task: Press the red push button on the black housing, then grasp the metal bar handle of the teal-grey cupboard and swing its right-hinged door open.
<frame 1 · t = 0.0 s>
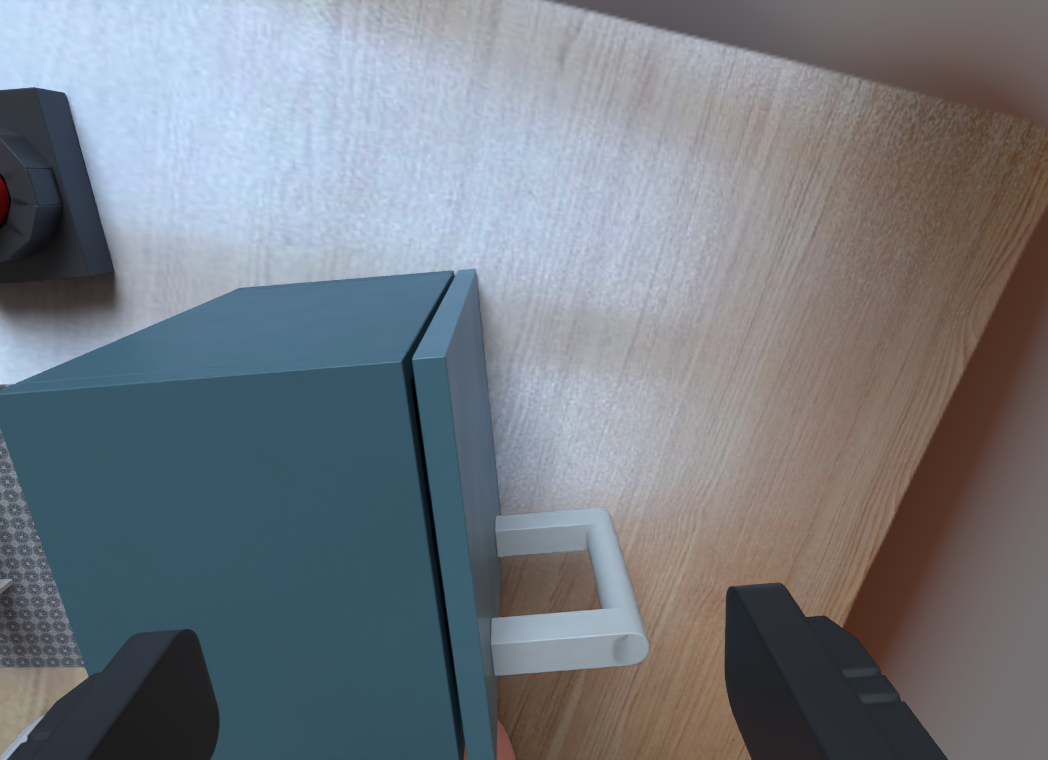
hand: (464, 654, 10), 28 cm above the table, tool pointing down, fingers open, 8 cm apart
button box: (24, 190, 34), on the table
teapot: (399, 759, 47), on the table
cupboard door: (541, 465, 29), point 9 cm above the table, hinge at 0.0°
cupboard: (368, 413, 38), on the table
water bottle: (95, 742, 45), on the table
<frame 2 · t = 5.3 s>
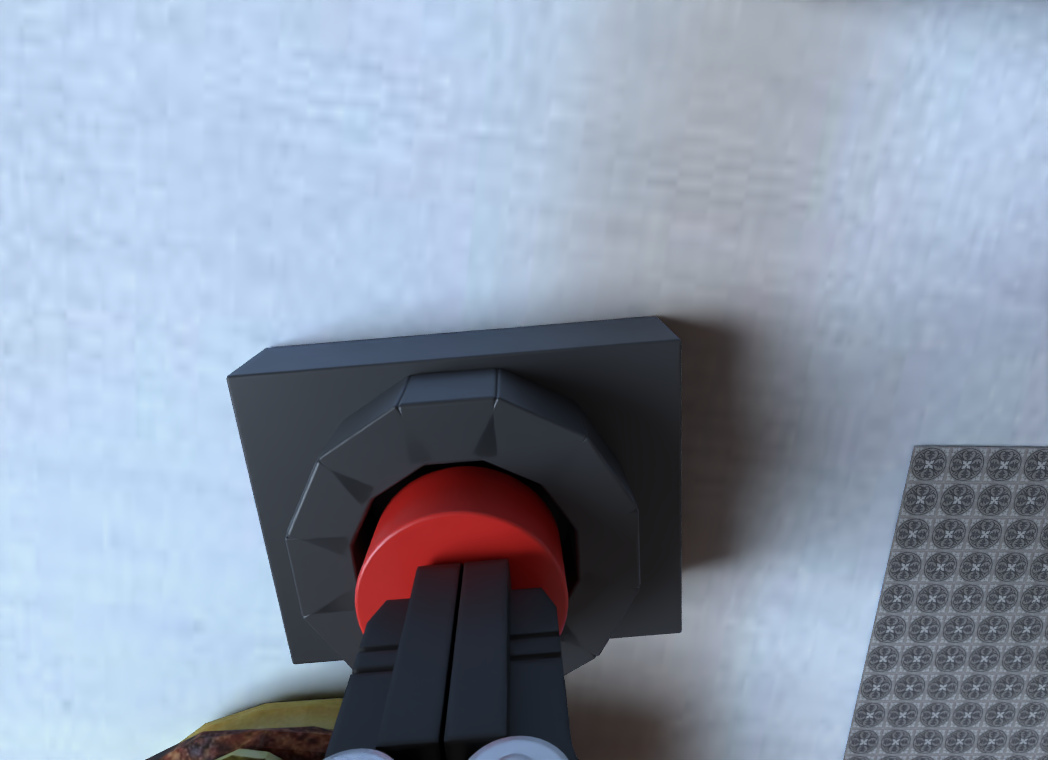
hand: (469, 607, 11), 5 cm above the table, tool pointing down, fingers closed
button box: (476, 469, 16), on the table
red push button: (465, 576, 12), point 4 cm above the table, slide at 0.0 cm, touching gripper
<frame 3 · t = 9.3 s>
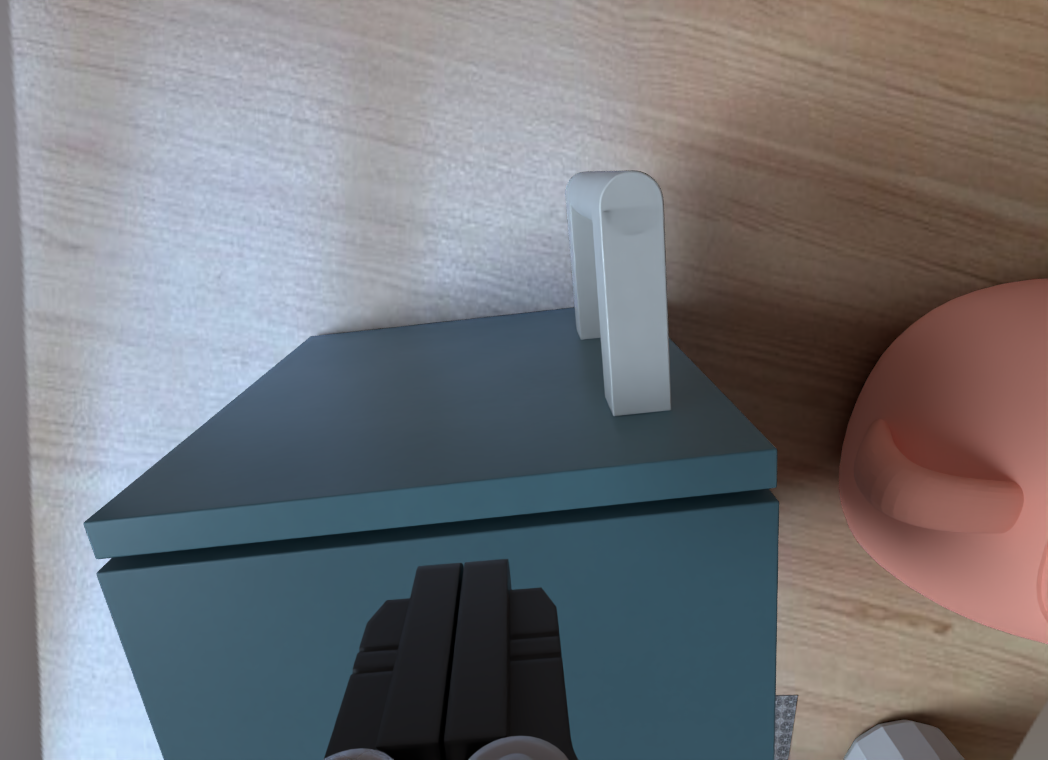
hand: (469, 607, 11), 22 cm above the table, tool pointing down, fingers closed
teapot: (994, 430, 34), on the table
cupboard door: (447, 299, 22), point 9 cm above the table, hinge at 0.0°
cupboard: (489, 451, 34), on the table
water bottle: (893, 741, 41), on the table
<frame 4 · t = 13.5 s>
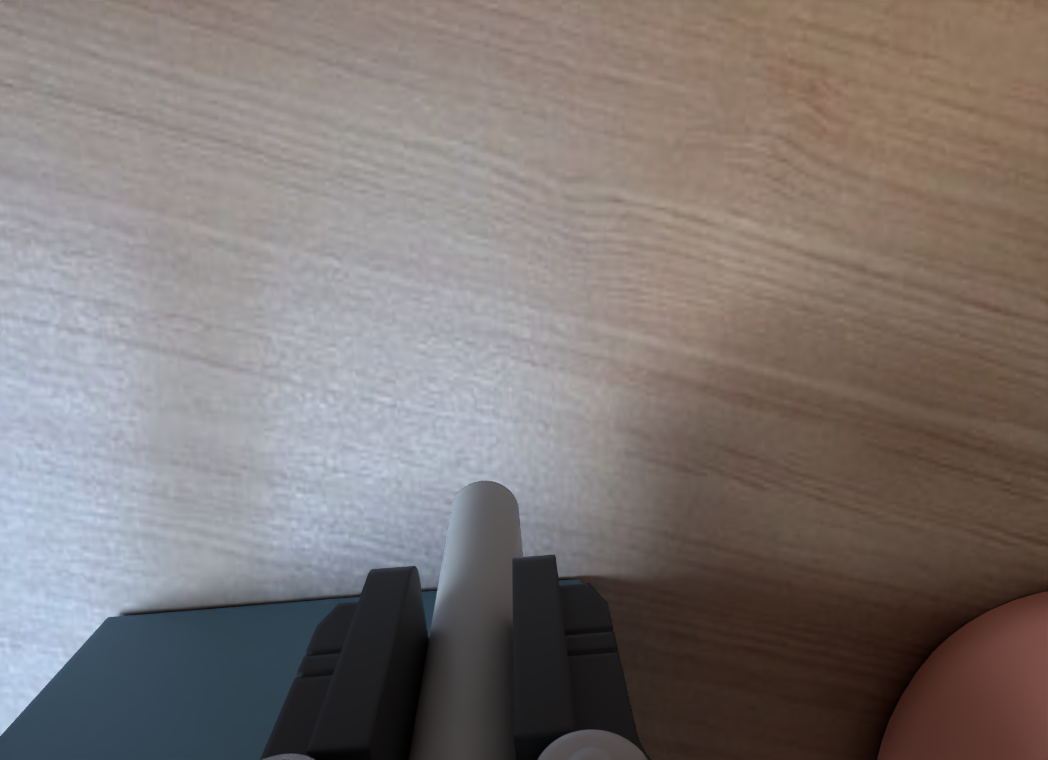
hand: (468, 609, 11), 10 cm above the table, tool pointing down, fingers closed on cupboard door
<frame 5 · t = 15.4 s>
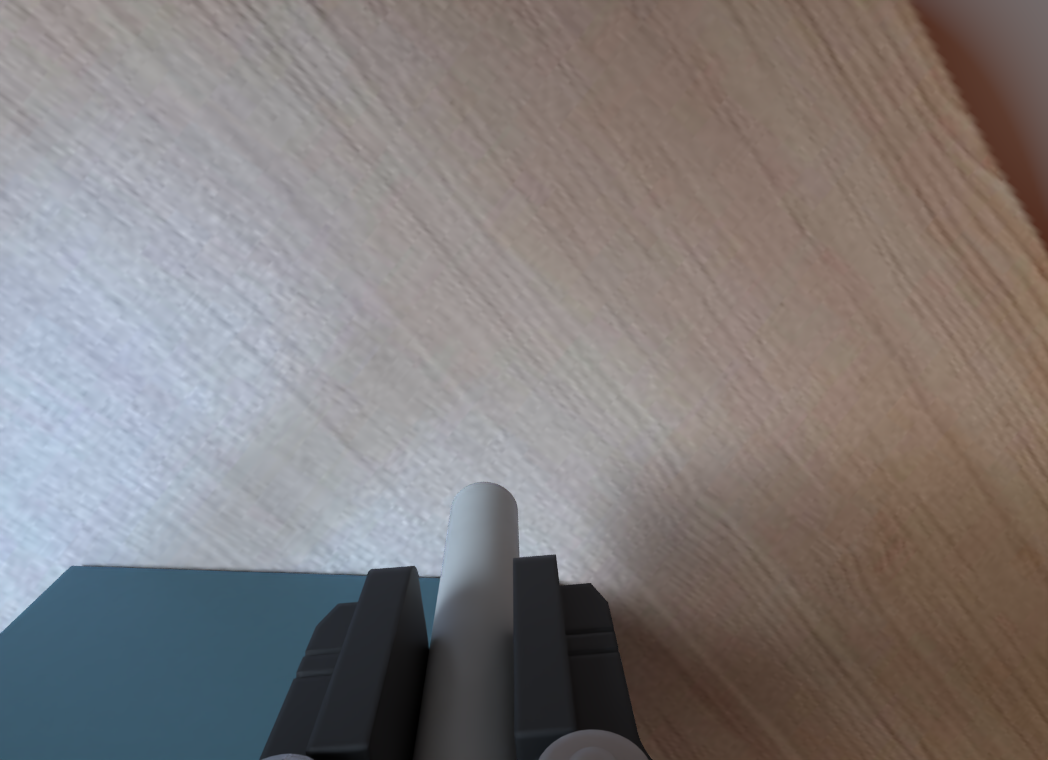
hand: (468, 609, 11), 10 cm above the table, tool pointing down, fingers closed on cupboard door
cupboard door: (182, 743, 12), point 9 cm above the table, hinge at 28.2°, touching gripper
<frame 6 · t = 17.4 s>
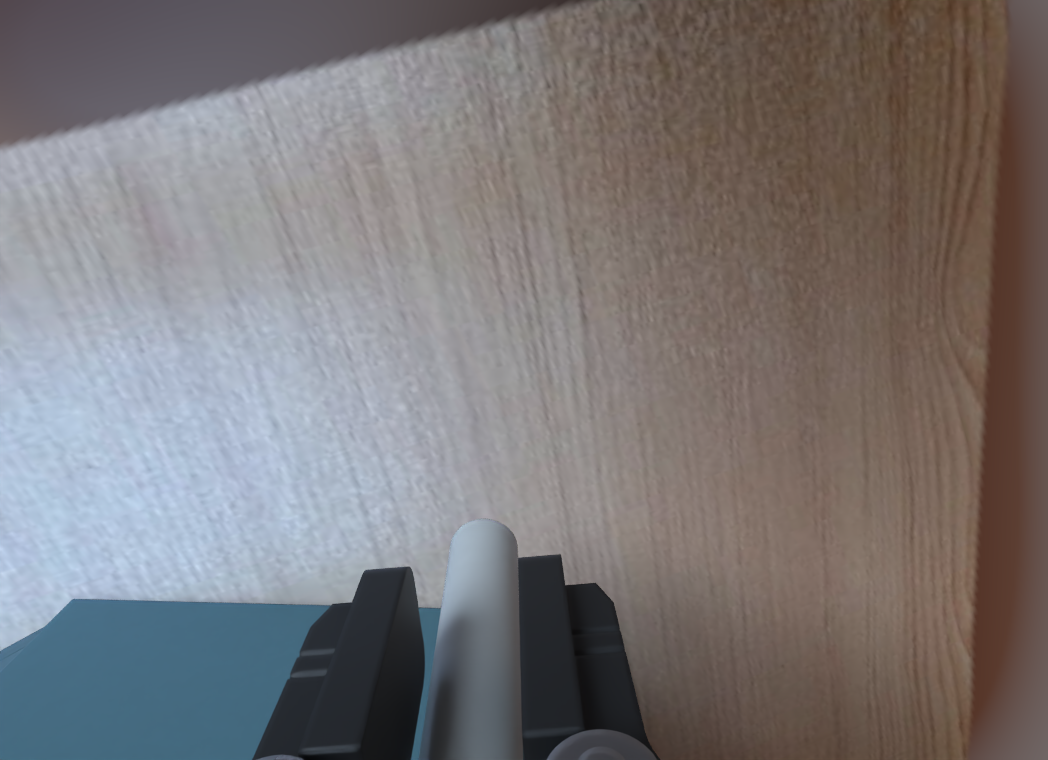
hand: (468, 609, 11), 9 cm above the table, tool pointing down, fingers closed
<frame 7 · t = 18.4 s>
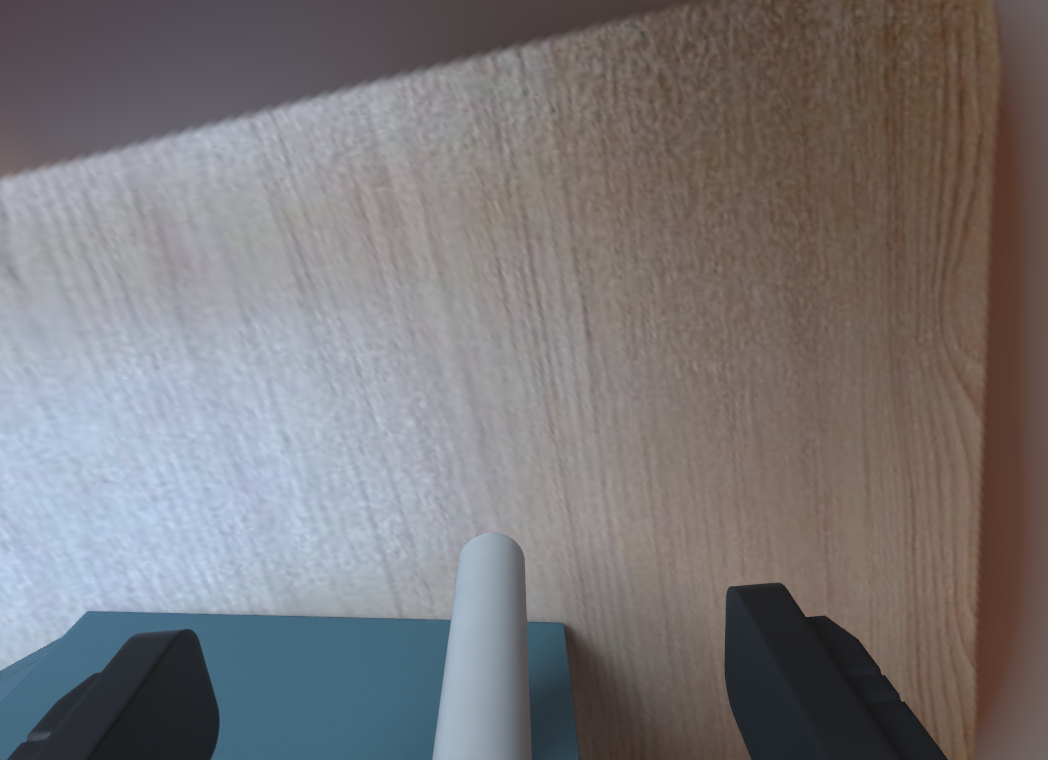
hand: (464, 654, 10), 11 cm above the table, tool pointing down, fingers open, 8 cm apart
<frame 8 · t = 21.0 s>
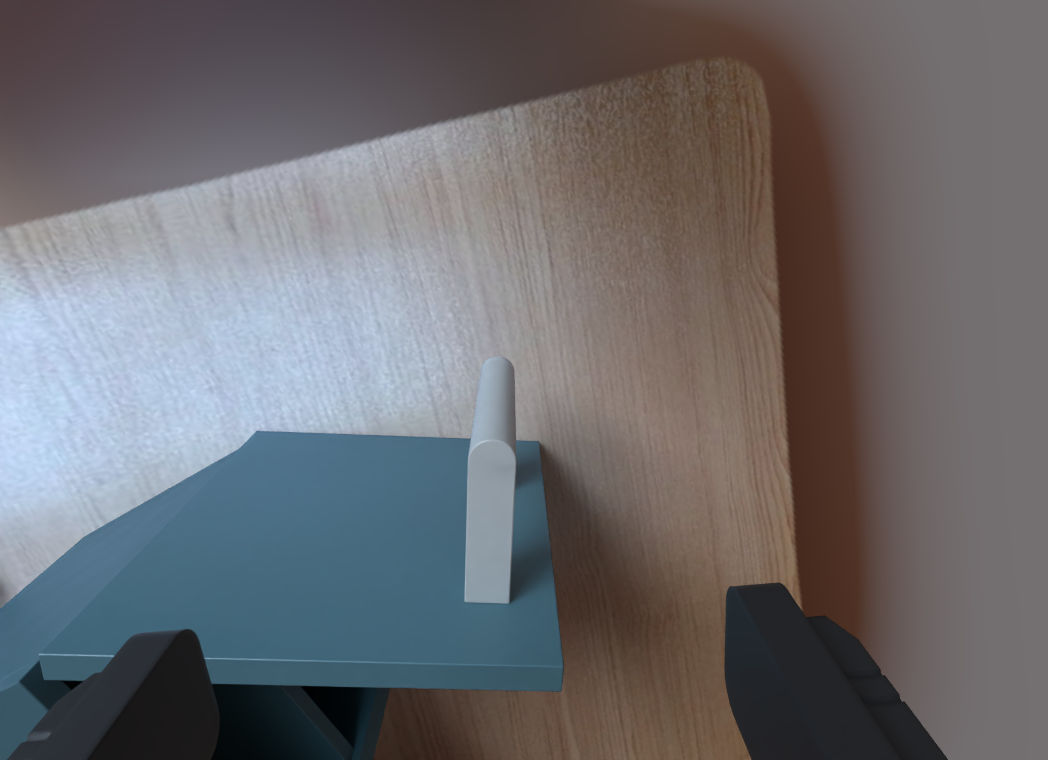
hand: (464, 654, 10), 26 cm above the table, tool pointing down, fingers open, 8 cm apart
cupboard door: (364, 459, 27), point 9 cm above the table, hinge at 57.7°
cupboard: (248, 591, 40), on the table
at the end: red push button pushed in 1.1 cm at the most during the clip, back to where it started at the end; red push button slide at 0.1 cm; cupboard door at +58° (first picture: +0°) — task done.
